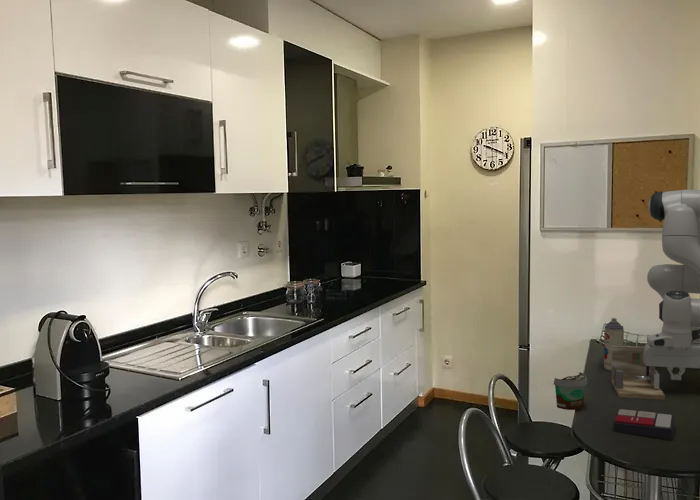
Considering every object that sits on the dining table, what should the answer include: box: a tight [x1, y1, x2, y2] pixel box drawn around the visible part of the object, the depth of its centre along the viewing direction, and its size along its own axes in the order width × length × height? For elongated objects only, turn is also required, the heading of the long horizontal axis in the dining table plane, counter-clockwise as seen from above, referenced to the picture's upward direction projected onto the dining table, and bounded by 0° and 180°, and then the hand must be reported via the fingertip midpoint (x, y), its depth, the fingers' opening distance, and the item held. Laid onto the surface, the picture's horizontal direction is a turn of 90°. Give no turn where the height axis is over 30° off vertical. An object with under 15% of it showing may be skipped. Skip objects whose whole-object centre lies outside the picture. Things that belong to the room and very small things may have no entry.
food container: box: [553, 371, 588, 411], centre depth 191 cm, size 12×6×10 cm, turn 118°
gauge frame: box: [611, 345, 666, 401], centre depth 204 cm, size 16×14×14 cm
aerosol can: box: [603, 317, 625, 373], centre depth 228 cm, size 7×7×20 cm
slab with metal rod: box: [635, 368, 660, 389], centre depth 205 cm, size 8×7×5 cm
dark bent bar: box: [646, 366, 650, 382], centre depth 207 cm, size 3×2×10 cm, turn 164°
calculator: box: [613, 408, 675, 441], centre depth 173 cm, size 11×4×15 cm
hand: (675, 379), depth 201 cm, fingers closed
